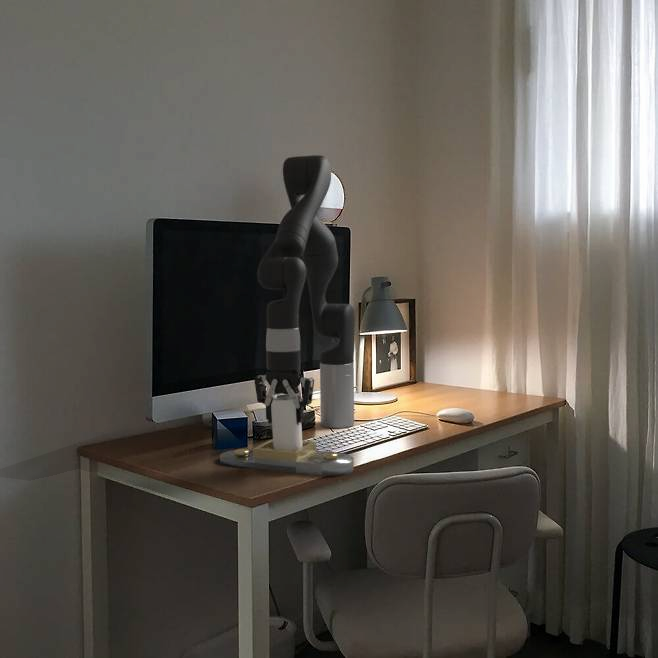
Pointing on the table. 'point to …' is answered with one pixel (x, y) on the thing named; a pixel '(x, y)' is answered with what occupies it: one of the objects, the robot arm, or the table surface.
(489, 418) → the table surface
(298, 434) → the can
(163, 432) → the table surface
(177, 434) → the table surface
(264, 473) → the table surface
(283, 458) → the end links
